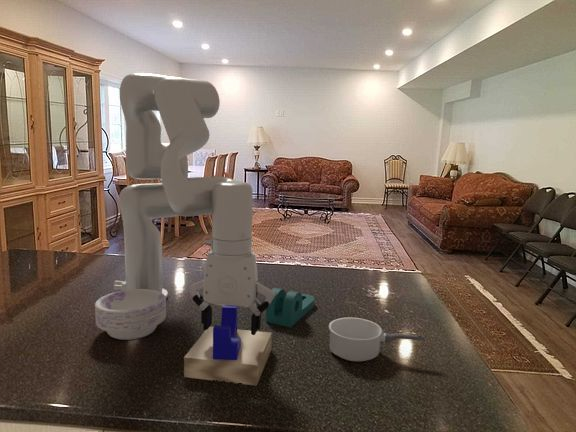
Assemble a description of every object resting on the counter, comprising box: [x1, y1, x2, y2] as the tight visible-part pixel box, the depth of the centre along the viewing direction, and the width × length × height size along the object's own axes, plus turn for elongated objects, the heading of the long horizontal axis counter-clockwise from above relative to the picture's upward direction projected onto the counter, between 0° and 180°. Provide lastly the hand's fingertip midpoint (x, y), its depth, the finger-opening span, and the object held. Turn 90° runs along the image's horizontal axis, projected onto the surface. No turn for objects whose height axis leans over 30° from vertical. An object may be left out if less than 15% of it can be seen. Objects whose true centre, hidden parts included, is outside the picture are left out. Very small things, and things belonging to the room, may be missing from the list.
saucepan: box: [328, 316, 426, 363], centre depth 93 cm, size 12×20×6 cm, turn 78°
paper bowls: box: [94, 289, 167, 341], centre depth 100 cm, size 15×15×8 cm
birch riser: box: [183, 326, 273, 386], centre depth 88 cm, size 14×14×4 cm
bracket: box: [265, 287, 315, 328], centre depth 115 cm, size 18×7×8 cm, turn 155°
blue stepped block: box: [213, 305, 241, 360], centre depth 87 cm, size 12×4×6 cm, turn 179°
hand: (230, 329), depth 87 cm, fingers open, 9 cm apart
